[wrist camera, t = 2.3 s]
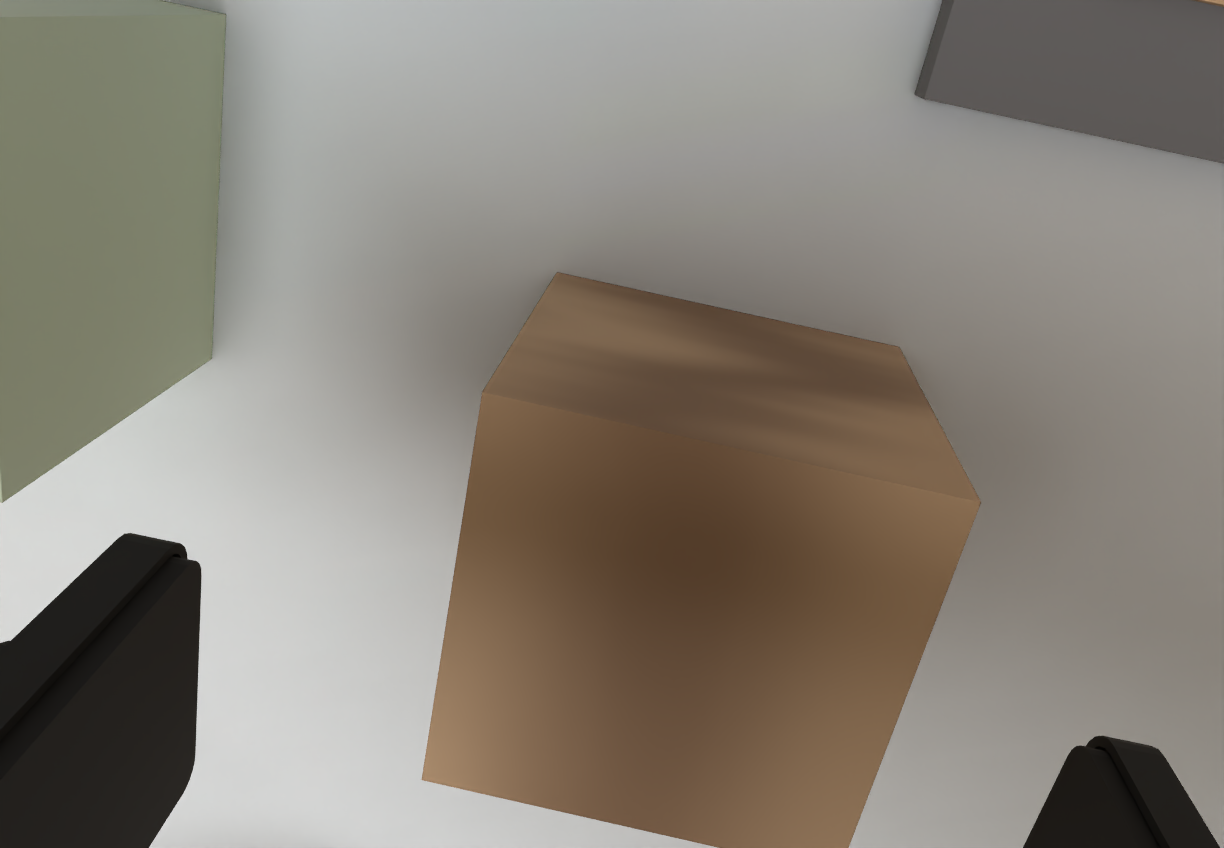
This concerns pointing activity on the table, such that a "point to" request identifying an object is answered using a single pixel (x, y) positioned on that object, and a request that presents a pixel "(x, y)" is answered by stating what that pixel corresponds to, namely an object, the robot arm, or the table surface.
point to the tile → (1088, 67)
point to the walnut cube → (693, 570)
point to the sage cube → (102, 216)
